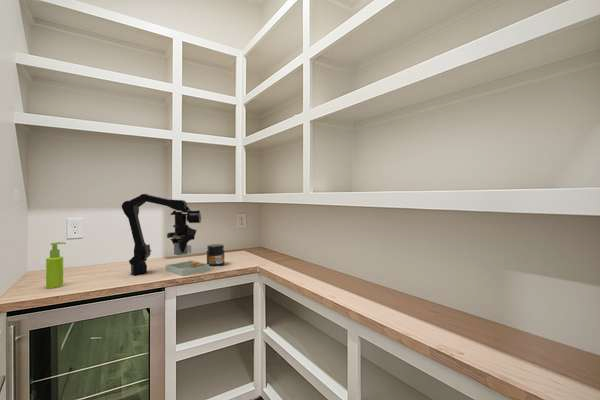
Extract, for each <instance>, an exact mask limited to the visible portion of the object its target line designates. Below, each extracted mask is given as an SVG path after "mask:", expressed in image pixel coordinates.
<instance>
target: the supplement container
mask: <svg viewBox="0 0 600 400" xmlns="http://www.w3.org/2000/svg"><path fill="white" fill-rule="evenodd" d="M224 248H225V246H224V244H221V243H219V244H218V243H215V244H208V245H207V248H206V249H207V250H206V264H209V267H222V266H224V265H225V264H226V262H225V249H224Z"/></svg>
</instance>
